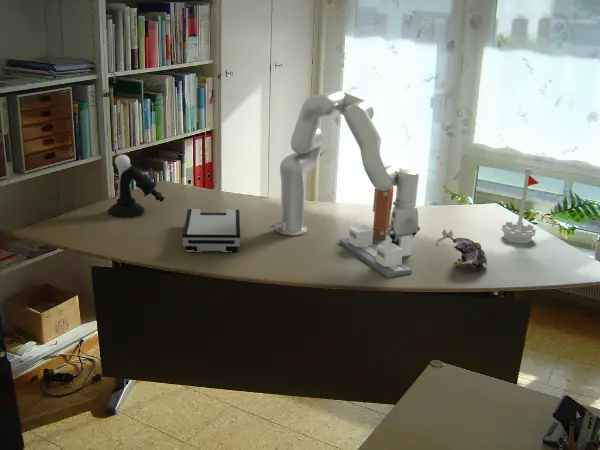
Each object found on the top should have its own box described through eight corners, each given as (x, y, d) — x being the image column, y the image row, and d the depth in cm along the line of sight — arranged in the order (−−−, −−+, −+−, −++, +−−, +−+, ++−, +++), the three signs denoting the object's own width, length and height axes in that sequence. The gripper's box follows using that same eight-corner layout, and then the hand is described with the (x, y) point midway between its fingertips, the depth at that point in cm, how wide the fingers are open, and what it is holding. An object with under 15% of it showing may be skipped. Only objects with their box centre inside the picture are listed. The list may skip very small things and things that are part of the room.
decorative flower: (492, 252, 240) (454, 232, 245) (476, 282, 243) (439, 261, 248) (497, 250, 254) (461, 231, 259) (482, 278, 256) (446, 258, 261)
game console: (239, 225, 285) (239, 206, 282) (239, 255, 255) (240, 234, 252) (188, 225, 282) (187, 206, 280) (182, 255, 253) (182, 234, 250)
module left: (355, 247, 261) (356, 232, 259) (347, 242, 266) (348, 227, 264) (372, 245, 264) (373, 230, 262) (364, 239, 269) (365, 225, 267)
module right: (383, 267, 244) (385, 251, 242) (375, 261, 249) (376, 245, 247) (401, 264, 247) (402, 249, 245) (392, 258, 252) (393, 243, 250)
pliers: (438, 246, 270) (428, 228, 288) (437, 248, 270) (428, 230, 289) (462, 247, 270) (451, 229, 289) (462, 249, 270) (451, 231, 289)
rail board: (387, 277, 241) (387, 273, 240) (339, 242, 270) (339, 239, 270) (411, 273, 245) (411, 269, 244) (361, 239, 274) (361, 236, 274)
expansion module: (399, 257, 259) (401, 237, 256) (390, 251, 264) (392, 231, 261) (410, 255, 261) (413, 235, 258) (402, 249, 266) (404, 230, 263)
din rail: (394, 271, 242) (395, 270, 242) (347, 238, 271) (347, 237, 270) (403, 270, 243) (403, 269, 243) (355, 237, 272) (355, 236, 272)
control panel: (390, 228, 288) (387, 240, 274) (373, 226, 289) (369, 238, 276) (394, 178, 281) (391, 189, 267) (377, 177, 282) (373, 187, 268)
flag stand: (495, 238, 283) (505, 167, 272) (510, 230, 292) (520, 161, 282) (524, 247, 274) (536, 174, 264) (539, 239, 284) (551, 168, 273)
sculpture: (111, 206, 300) (108, 149, 291) (166, 207, 302) (165, 151, 293) (105, 217, 286) (101, 159, 277) (163, 218, 288) (161, 160, 279)
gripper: (391, 208, 249) (387, 255, 255) (430, 204, 256) (425, 249, 262) (380, 202, 255) (376, 248, 262) (418, 198, 263) (414, 242, 269)
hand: (401, 248), depth 262 cm, fingers closed on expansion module, 5 cm apart
